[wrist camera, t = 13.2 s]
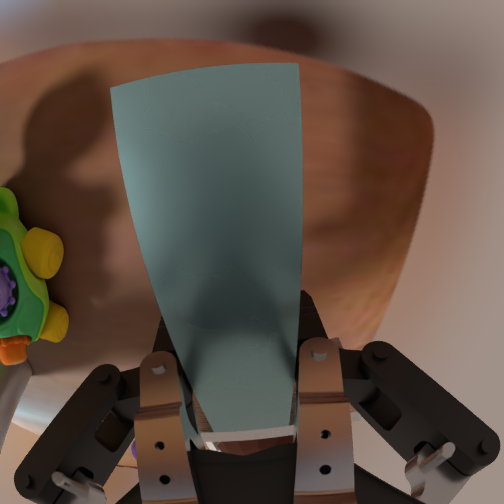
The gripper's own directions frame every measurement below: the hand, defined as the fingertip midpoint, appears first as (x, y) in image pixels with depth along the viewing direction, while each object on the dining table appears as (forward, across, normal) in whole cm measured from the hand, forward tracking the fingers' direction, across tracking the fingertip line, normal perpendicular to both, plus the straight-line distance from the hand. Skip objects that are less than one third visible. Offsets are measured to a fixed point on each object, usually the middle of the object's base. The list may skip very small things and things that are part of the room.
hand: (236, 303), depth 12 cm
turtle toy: (+11, +24, -1) cm, 27 cm away
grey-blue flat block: (+1, 0, -1) cm, 1 cm away
